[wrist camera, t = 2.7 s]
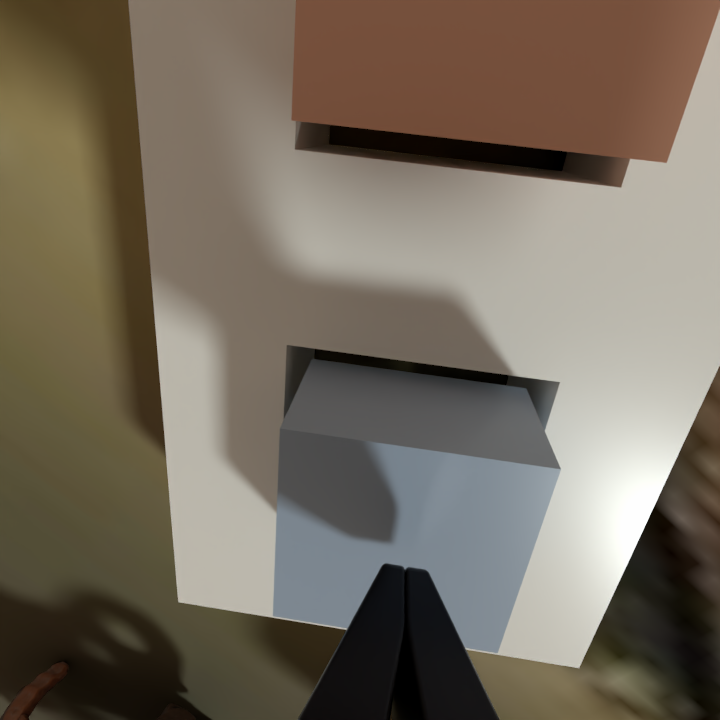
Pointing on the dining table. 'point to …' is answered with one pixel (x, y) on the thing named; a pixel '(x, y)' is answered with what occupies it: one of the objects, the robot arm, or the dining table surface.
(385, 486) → the blue key
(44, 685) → the pottery mug
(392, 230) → the key panel
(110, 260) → the dining table surface
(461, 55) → the terracotta key
